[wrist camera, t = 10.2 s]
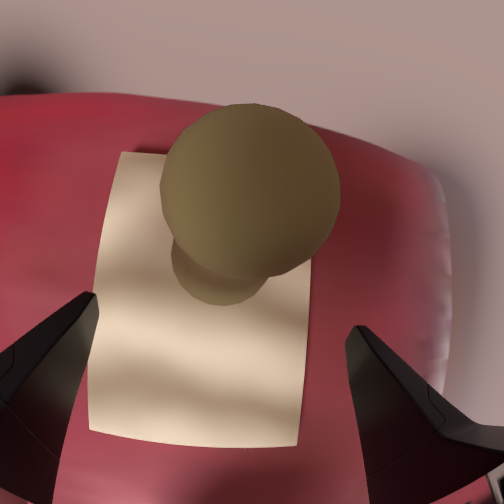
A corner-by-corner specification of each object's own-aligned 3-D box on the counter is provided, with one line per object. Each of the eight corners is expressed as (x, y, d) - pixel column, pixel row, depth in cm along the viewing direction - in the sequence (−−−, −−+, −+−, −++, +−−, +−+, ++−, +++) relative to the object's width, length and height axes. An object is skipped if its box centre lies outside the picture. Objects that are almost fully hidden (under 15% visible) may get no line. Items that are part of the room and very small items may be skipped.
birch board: (289, 437, 17) (296, 445, 16) (96, 421, 15) (89, 429, 13) (304, 184, 21) (311, 175, 20) (125, 162, 19) (121, 151, 17)
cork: (251, 194, 18) (313, 66, 8) (287, 284, 18) (407, 238, 7) (158, 223, 17) (117, 100, 6) (191, 321, 16) (181, 331, 6)
